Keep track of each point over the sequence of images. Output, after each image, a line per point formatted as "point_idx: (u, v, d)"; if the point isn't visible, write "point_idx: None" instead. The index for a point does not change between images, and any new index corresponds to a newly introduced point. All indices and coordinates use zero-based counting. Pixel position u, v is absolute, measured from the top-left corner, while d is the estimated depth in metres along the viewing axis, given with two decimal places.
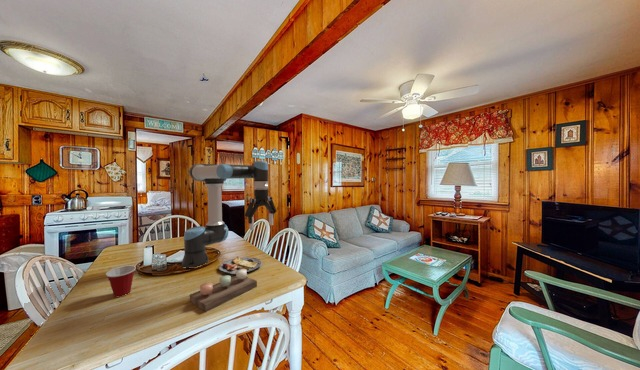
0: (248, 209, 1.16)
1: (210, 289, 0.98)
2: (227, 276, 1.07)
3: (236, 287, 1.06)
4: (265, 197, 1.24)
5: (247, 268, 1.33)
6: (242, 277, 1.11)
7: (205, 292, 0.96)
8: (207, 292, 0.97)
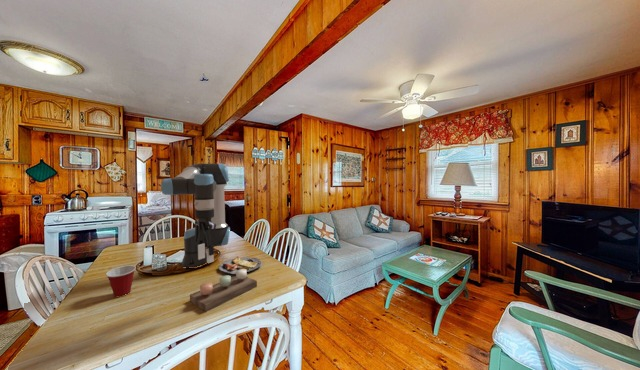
0: None
1: (210, 289, 0.98)
2: (227, 276, 1.07)
3: (236, 287, 1.06)
4: (205, 220, 0.95)
5: (247, 268, 1.33)
6: (242, 277, 1.11)
7: (205, 292, 0.96)
8: (207, 292, 0.97)
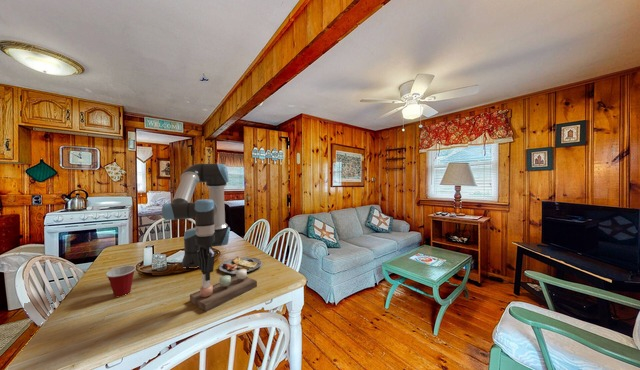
0: None
1: (210, 291, 0.98)
2: (227, 276, 1.07)
3: (236, 287, 1.06)
4: (206, 245, 0.95)
5: (247, 268, 1.33)
6: (242, 277, 1.11)
7: (205, 294, 0.96)
8: (207, 294, 0.97)
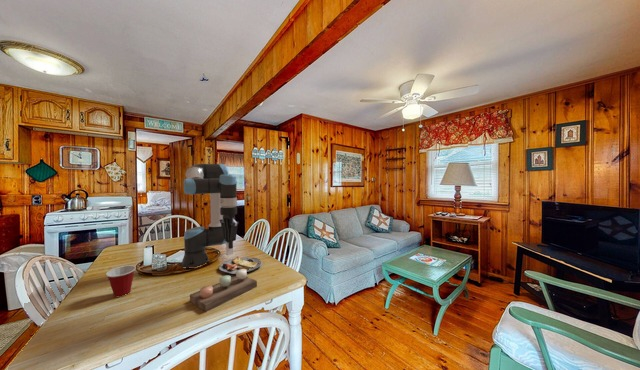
0: None
1: (210, 293, 0.98)
2: (227, 276, 1.07)
3: (236, 287, 1.06)
4: (229, 216, 1.04)
5: (247, 268, 1.33)
6: (242, 277, 1.11)
7: (205, 295, 0.97)
8: (207, 295, 0.97)
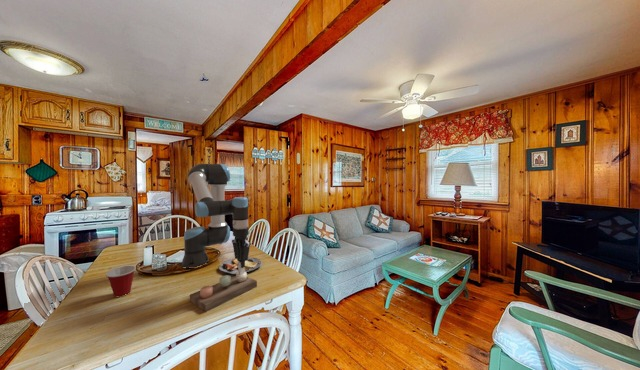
0: None
1: (210, 293, 0.98)
2: (227, 276, 1.07)
3: (236, 287, 1.06)
4: (242, 237, 1.10)
5: (247, 268, 1.33)
6: (242, 280, 1.11)
7: (205, 295, 0.97)
8: (207, 295, 0.97)
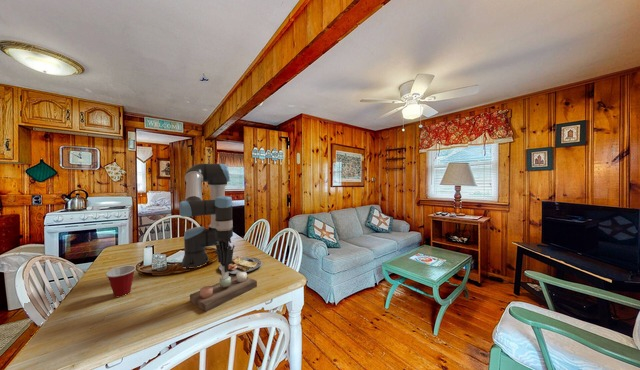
0: None
1: (210, 293, 0.98)
2: None
3: (236, 287, 1.06)
4: (225, 239, 1.03)
5: (247, 268, 1.33)
6: (242, 280, 1.11)
7: (205, 295, 0.97)
8: (207, 295, 0.97)
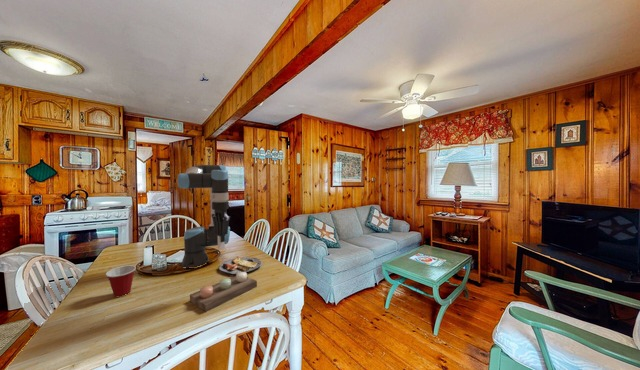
0: None
1: (210, 293, 0.98)
2: (227, 279, 1.07)
3: (236, 287, 1.06)
4: (221, 210, 1.07)
5: (247, 268, 1.33)
6: (242, 280, 1.11)
7: (205, 295, 0.97)
8: (207, 295, 0.97)
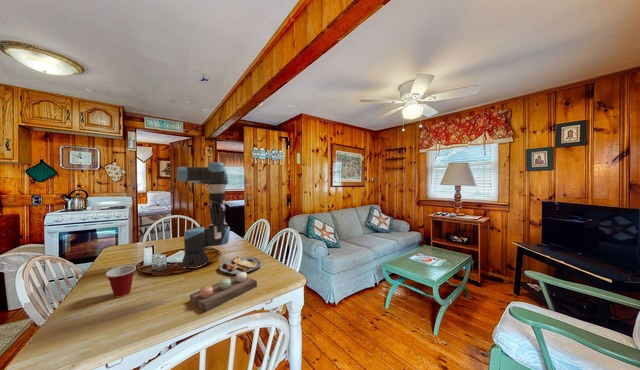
0: None
1: (210, 293, 0.98)
2: (227, 279, 1.07)
3: (236, 287, 1.06)
4: (218, 201, 1.11)
5: (247, 268, 1.33)
6: (242, 280, 1.11)
7: (205, 295, 0.97)
8: (207, 295, 0.97)
